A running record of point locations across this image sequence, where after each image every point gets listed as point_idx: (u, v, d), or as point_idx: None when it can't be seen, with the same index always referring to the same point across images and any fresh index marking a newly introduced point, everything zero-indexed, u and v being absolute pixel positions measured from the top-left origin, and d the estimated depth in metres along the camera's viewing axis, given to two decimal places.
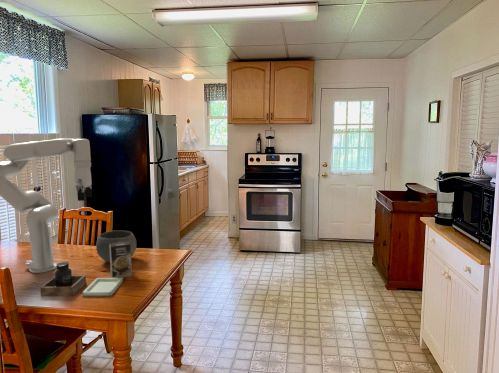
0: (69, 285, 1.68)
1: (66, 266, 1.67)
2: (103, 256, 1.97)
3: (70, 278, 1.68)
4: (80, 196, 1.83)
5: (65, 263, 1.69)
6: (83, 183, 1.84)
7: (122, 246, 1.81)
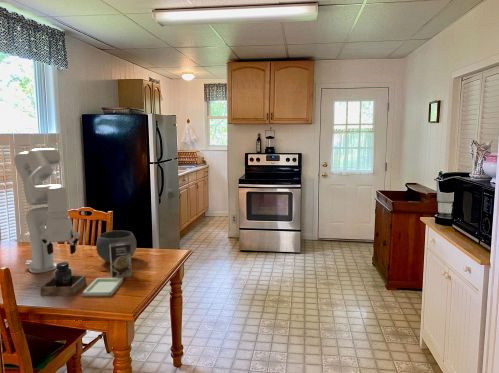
0: (69, 285, 1.68)
1: (66, 266, 1.67)
2: (103, 256, 1.97)
3: (70, 278, 1.68)
4: (74, 248, 1.67)
5: (65, 263, 1.69)
6: (73, 233, 1.67)
7: (122, 246, 1.81)
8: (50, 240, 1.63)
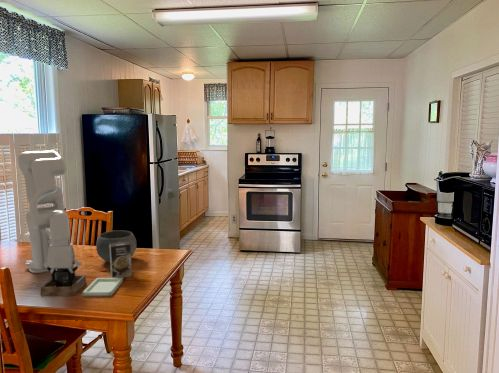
0: (69, 285, 1.68)
1: None
2: (103, 256, 1.97)
3: None
4: (74, 276, 1.69)
5: None
6: None
7: (122, 246, 1.81)
8: (52, 267, 1.65)
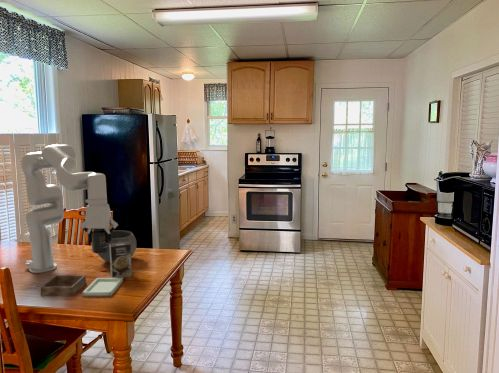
0: (106, 246, 1.66)
1: None
2: (103, 256, 1.97)
3: None
4: (110, 237, 1.67)
5: None
6: None
7: (122, 246, 1.81)
8: (89, 227, 1.64)
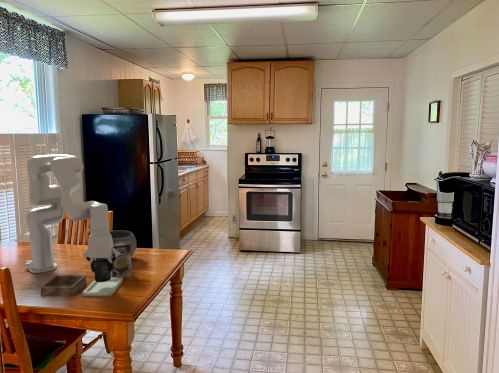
0: (108, 275, 1.68)
1: None
2: None
3: None
4: (113, 266, 1.69)
5: None
6: None
7: (122, 246, 1.81)
8: (92, 257, 1.66)
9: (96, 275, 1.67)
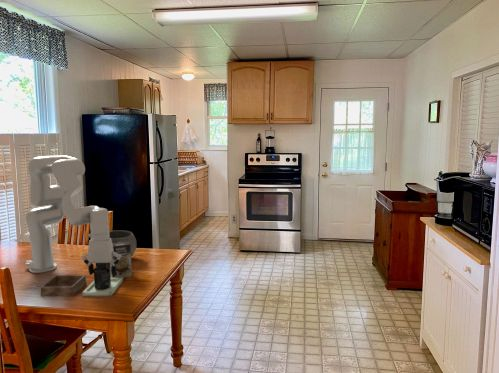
0: (108, 282, 1.69)
1: (105, 264, 1.68)
2: None
3: (109, 276, 1.69)
4: (115, 269, 1.70)
5: None
6: None
7: (122, 246, 1.81)
8: (92, 261, 1.66)
9: (96, 283, 1.67)
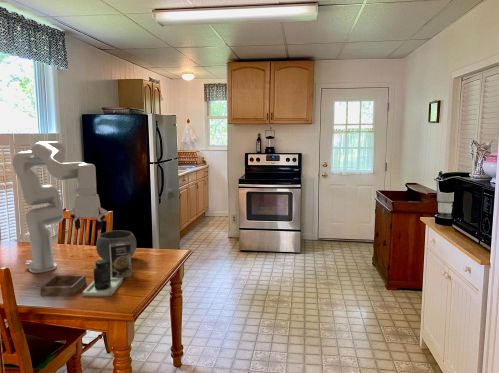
0: (108, 282, 1.69)
1: (105, 264, 1.68)
2: (103, 256, 1.97)
3: (109, 276, 1.69)
4: (101, 224, 1.72)
5: (104, 261, 1.70)
6: None
7: (122, 246, 1.81)
8: (78, 216, 1.68)
9: (96, 283, 1.67)
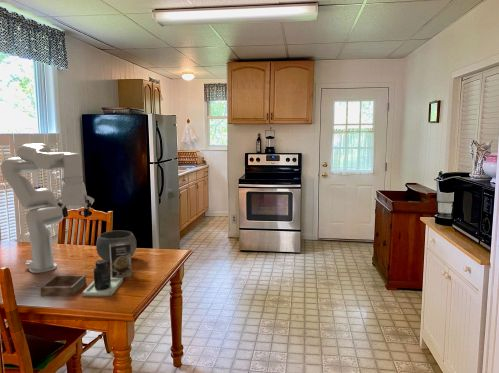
0: (108, 282, 1.69)
1: (105, 264, 1.68)
2: (103, 256, 1.97)
3: (109, 276, 1.69)
4: (88, 212, 1.77)
5: (104, 261, 1.70)
6: (86, 198, 1.78)
7: (122, 246, 1.81)
8: (65, 204, 1.73)
9: (96, 283, 1.67)
